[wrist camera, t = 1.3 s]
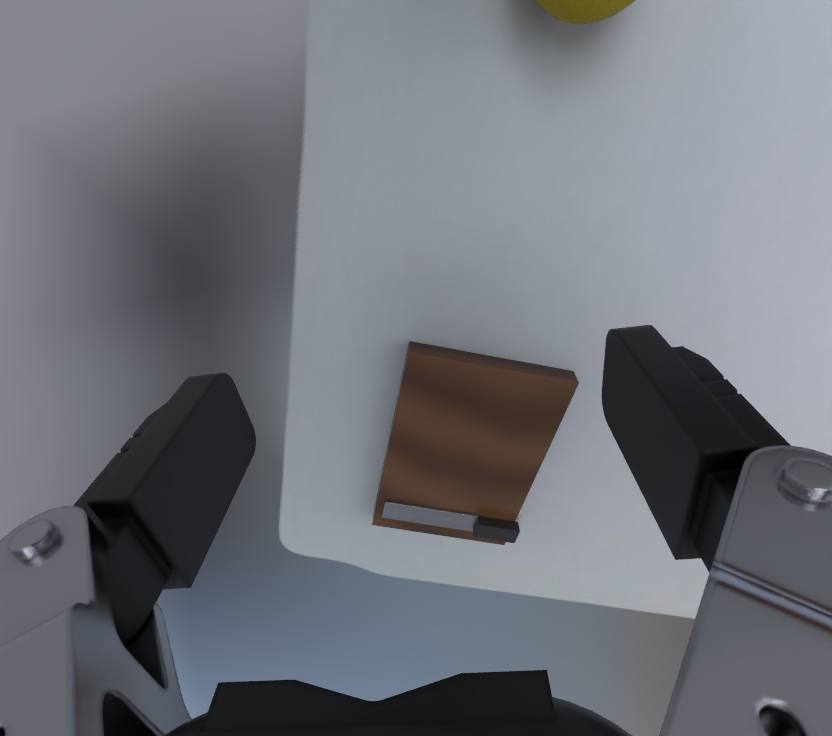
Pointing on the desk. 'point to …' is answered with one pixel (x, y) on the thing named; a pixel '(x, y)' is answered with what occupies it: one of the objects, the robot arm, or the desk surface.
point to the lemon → (583, 9)
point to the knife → (452, 520)
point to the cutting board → (469, 434)
